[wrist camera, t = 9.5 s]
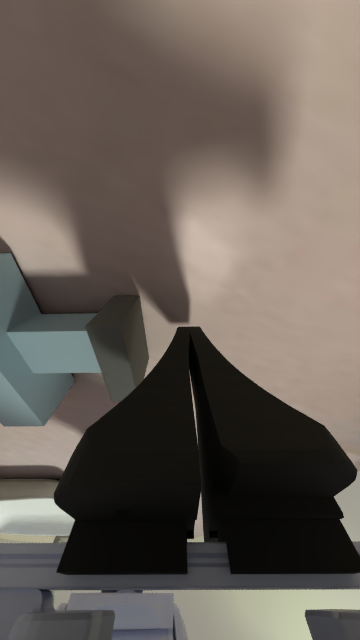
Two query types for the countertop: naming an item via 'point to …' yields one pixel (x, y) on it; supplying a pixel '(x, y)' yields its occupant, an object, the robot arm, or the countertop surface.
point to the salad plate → (32, 508)
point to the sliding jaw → (62, 350)
